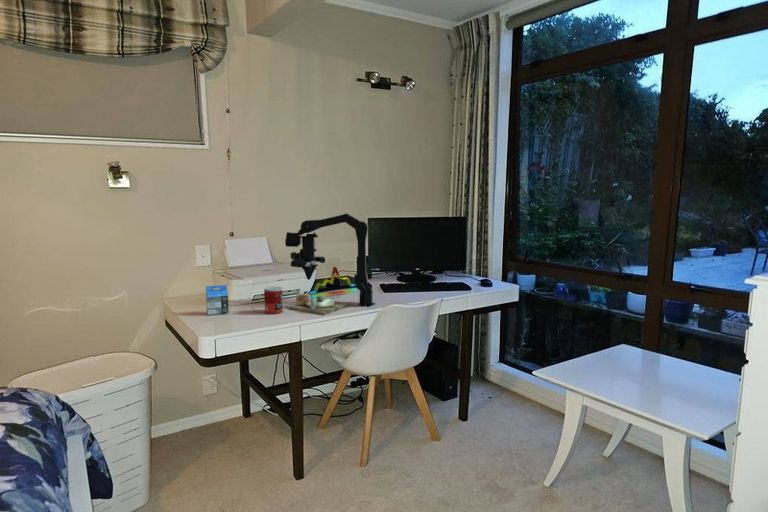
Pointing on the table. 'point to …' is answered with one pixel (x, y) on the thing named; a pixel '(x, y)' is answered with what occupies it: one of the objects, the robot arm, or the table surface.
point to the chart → (332, 283)
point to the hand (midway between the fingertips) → (308, 279)
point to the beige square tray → (322, 310)
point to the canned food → (273, 300)
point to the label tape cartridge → (217, 300)
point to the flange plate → (320, 301)
